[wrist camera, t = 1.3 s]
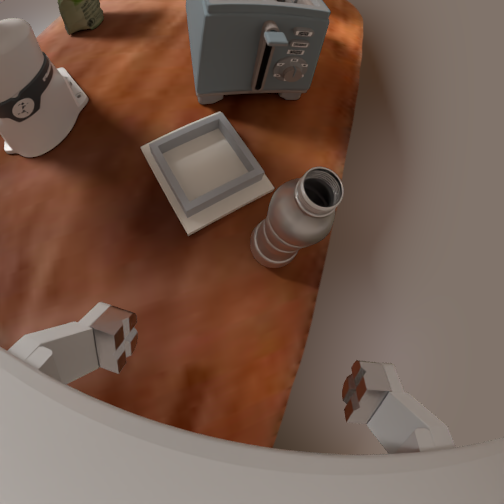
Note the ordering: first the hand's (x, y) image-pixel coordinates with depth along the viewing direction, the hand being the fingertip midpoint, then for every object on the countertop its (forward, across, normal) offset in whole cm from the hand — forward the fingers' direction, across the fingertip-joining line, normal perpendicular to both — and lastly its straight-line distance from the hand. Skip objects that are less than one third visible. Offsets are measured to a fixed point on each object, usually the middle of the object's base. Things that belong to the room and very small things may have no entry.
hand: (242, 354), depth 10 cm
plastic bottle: (+31, -1, +7) cm, 32 cm away
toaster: (+51, +12, -23) cm, 58 cm away
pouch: (+51, +53, -34) cm, 81 cm away
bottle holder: (+35, +11, -2) cm, 37 cm away
